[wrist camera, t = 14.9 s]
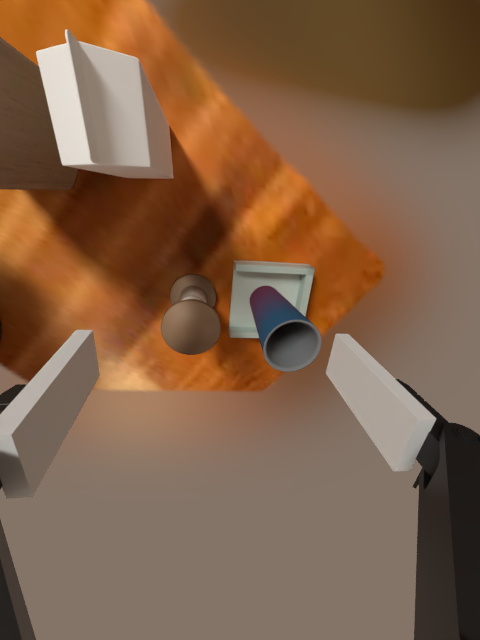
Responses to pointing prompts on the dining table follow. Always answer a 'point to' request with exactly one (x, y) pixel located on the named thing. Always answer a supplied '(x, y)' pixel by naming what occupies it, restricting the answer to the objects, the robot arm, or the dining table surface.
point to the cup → (283, 331)
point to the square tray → (253, 274)
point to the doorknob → (191, 316)
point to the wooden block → (27, 129)
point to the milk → (104, 111)
